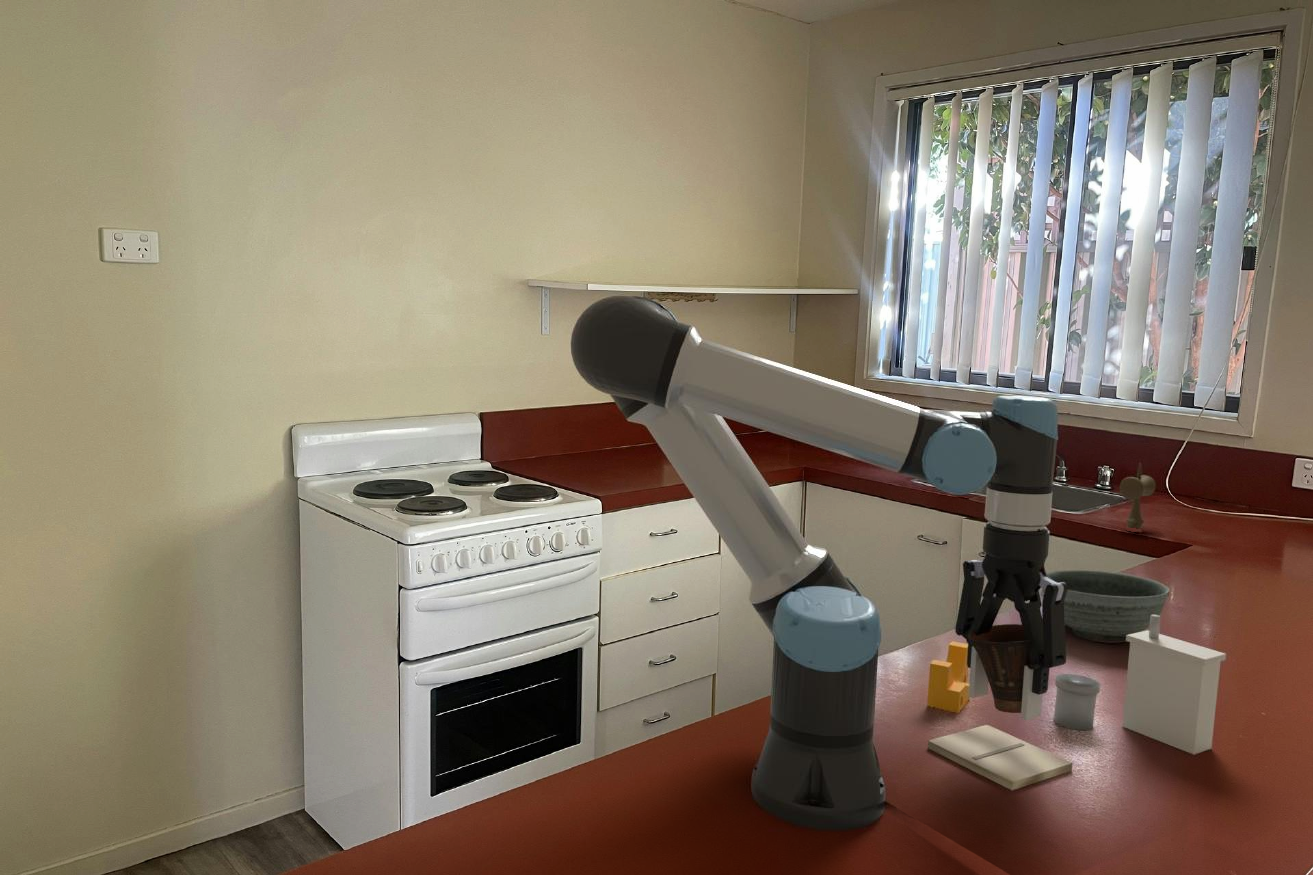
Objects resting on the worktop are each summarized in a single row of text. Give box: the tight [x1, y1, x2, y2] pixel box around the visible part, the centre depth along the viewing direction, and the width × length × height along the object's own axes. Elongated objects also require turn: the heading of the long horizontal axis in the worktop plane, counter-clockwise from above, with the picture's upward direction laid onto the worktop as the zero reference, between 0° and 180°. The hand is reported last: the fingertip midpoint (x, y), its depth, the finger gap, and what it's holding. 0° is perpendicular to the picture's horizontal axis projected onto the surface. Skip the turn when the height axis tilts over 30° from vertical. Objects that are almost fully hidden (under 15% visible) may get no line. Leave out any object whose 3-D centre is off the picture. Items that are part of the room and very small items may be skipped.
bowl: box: [1046, 569, 1171, 643], centre depth 178 cm, size 21×21×10 cm
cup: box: [968, 623, 1031, 714], centre depth 125 cm, size 9×9×10 cm
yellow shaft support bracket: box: [927, 641, 971, 714], centre depth 146 cm, size 12×4×6 cm, turn 149°
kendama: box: [1119, 462, 1157, 529], centre depth 262 cm, size 6×10×20 cm, turn 134°
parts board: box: [927, 724, 1073, 791], centre depth 126 cm, size 11×13×1 cm
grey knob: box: [1053, 672, 1101, 731], centre depth 138 cm, size 6×6×6 cm
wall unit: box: [1122, 615, 1227, 756], centre depth 134 cm, size 5×11×16 cm, turn 32°
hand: (1003, 705), depth 125 cm, fingers closed on cup, 7 cm apart
